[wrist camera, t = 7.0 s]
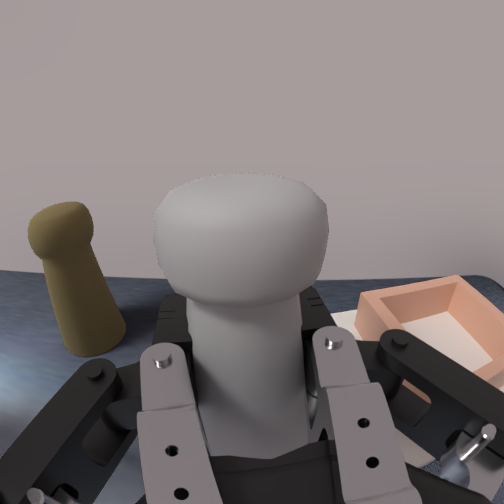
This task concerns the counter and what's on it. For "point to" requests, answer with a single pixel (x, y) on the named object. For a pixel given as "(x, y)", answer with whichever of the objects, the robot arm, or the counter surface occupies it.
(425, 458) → the tray
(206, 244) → the salt shaker
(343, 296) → the counter surface
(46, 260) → the pepper shaker
